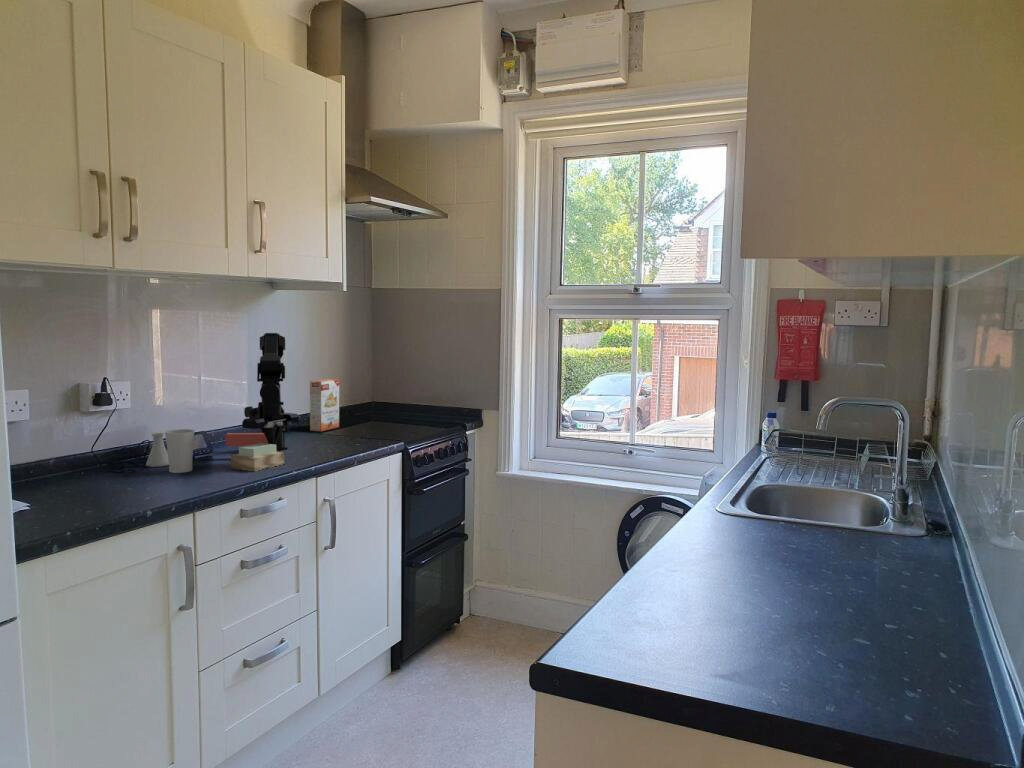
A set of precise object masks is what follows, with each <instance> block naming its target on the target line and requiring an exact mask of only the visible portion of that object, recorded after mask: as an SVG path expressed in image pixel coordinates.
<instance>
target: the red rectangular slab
mask: <svg viewBox="0 0 1024 768" xmlns="http://www.w3.org/2000/svg"><path fill="white" fill-rule="evenodd" d="M258 443H266V444H268V441H267V439H266V436H265V434H264V433H262V432H257V433H256V432H240V433H239V432H231V433H230V432H228V433H225V447H242V446H247V445H253V444H258Z"/></svg>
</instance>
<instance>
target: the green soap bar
mask: <svg viewBox="0 0 1024 768" xmlns="http://www.w3.org/2000/svg"><path fill="white" fill-rule="evenodd" d="M272 453H276V445H275V444H266V443H258V444H253V445H247V446H238V454H239V455H241V456H249V457H257V456H262V455H267V454H272Z"/></svg>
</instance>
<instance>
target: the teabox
mask: <svg viewBox="0 0 1024 768" xmlns="http://www.w3.org/2000/svg"><path fill="white" fill-rule="evenodd" d="M283 464H285V452H284V451H279V450H278V451H276V453H272V454H267V455H262V456H257V457H249V456H241V455H239V453H236V454H232V455H230V469H234V470H239V469H241V471H246V470H247V472H253V471H255V472H259V471H258V470H260V471H263V470H262V469H264V470H267V469H266V468H269V467H273V468H275V467H274V466H277V467H279V466H278V465H282V466H284V465H283ZM269 469H270V468H269Z"/></svg>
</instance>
